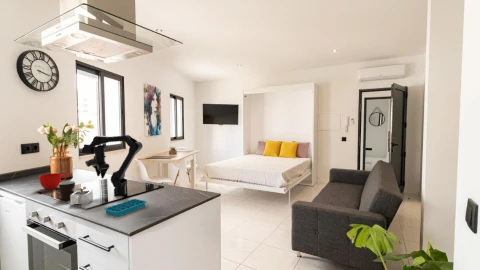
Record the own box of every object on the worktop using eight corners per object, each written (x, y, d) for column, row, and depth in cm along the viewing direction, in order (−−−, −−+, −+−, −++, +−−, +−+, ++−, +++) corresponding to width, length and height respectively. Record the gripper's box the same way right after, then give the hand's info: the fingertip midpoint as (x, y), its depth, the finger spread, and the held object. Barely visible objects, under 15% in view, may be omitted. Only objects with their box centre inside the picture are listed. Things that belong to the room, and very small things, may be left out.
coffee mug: (67, 200, 152) (66, 184, 152) (55, 199, 154) (55, 184, 154) (82, 195, 164) (82, 180, 163) (71, 194, 165) (71, 179, 165)
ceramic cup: (70, 186, 186) (70, 173, 185) (43, 191, 171) (43, 177, 171) (63, 184, 193) (62, 171, 192) (36, 189, 178) (36, 175, 178)
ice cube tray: (147, 206, 143) (147, 201, 143) (117, 218, 125) (116, 212, 125) (134, 203, 148) (134, 198, 148) (102, 214, 130) (102, 209, 130)
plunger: (90, 198, 153) (89, 185, 153) (86, 201, 147) (85, 188, 146) (78, 199, 151) (77, 186, 151) (73, 202, 145) (73, 189, 145)
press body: (92, 199, 154) (92, 190, 154) (85, 205, 143) (85, 195, 143) (77, 200, 152) (76, 191, 152) (68, 206, 141) (68, 196, 141)
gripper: (82, 154, 164) (83, 176, 165) (89, 156, 151) (90, 181, 152) (100, 152, 172) (101, 174, 173) (109, 155, 159) (109, 178, 160)
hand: (100, 177), depth 164 cm, fingers open, 9 cm apart
